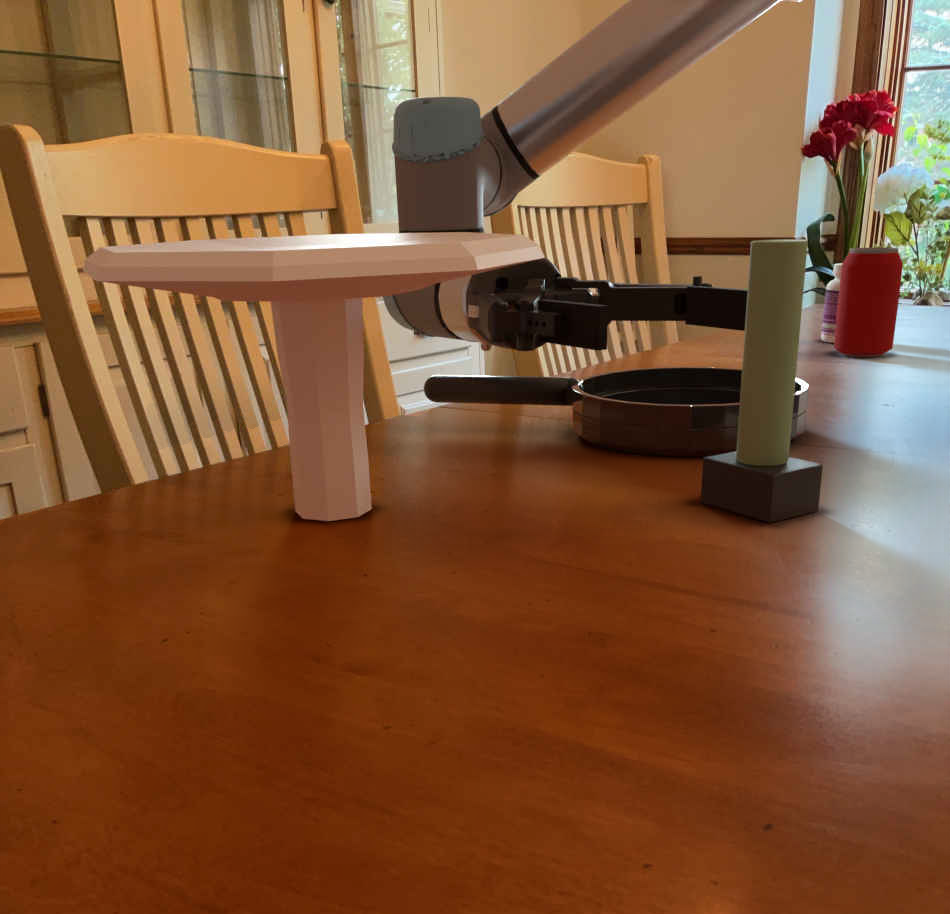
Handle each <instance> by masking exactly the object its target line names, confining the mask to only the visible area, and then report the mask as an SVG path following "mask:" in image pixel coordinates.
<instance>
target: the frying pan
mask: <svg viewBox="0 0 950 914" xmlns="http://www.w3.org/2000/svg"><path fill="white" fill-rule="evenodd" d="M741 378H742V368H737V367H735V368H734V367H733V368H732V367H717V366H716V367H715V366H661V367H659V366H658V367H643V368H632V369H631V368H629V369H622V370H621V369H620V370H614V371H606V372H601V373H596V374H591V375H588V376H585V377H582V378H579V379H577V380H578V381H580V382H579V383H575V384H572V385H571V406H570V426H571V429H572V431H573V432H574V433H576V434H578V435H579V436H581V438H582V439H584V440H585V441H586V442H587V443H590V444H593V445H595V446H598V447H602V448H606V449H609V450H614V451H620V452H625V453H632V454H641V455H651V456H665V457H709V456H714V455H720V454H725V453H730V452H735V451H736V450H737V436H738V421H739V407H740V392H741ZM581 384H582V386H583V391H581V390H580V385H581ZM808 397H809V383H807V382H806V381H804V380H802V379H800V378H797V377H796V380H795V391H794V403H793V414H792V425H791V436H790V442H791V441H793V440H794V439H796V438H797V437H799V436H801V435H802V434H804V433H805V430H806V419H807V408H808Z"/></svg>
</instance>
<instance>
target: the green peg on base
mask: <svg viewBox="0 0 950 914" xmlns="http://www.w3.org/2000/svg"><path fill="white" fill-rule="evenodd" d="M808 244H809V242H808V240H807V239H794V238H793V239H759V240H752V241H751V242H750V248H749V249H750V250H749V264H748V278H747V290H748V291H747V306H746V320H745V331H744V336H743V349H742V350H743V351H742V364H741V365H742V366H741V369H742V378H741V392H740V407H739V421H738V436H737V450H736V451H735V452H730V453H725V454H720V455H714V456H703V457H702V468H701V469H702V472H701V488H700V489H701V490H700V503H701V504H705V505H707V506H708V505H709V506H712V507H715V508H718V509H722V510H725V511H729V512H731V513H735V514H738V515H741V516H745V517H748V518H751V519H755V520H759V521H762V522H764V523H769V524H771V523H775V522H779V521H783V520H787V519H792V518H795V517H799V516H802V515H803V516H804V515H807V514H811V513H815V512H818V511H819V506H820V498H821V487H822V478H823V477H822V476H823V467H824V465H823V464H821V463H817V462H813V461H809V460H805V459H800V458H796V457H792V456H790V445H791V441H790V436H791V425H792V414H793V403H794V391H795V380H796V378H797V367H798V357H799V347H800V345H799V344H800V336H801V335H800V334H801V324H802V312H803V301H804V300H803V299H804V288H805V278H806V267H807V257H808V256H807V255H808Z"/></svg>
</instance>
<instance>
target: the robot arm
mask: <svg viewBox="0 0 950 914" xmlns="http://www.w3.org/2000/svg"><path fill="white" fill-rule="evenodd" d="M782 1H784V0H628V1H627V2H626V3H624V4H622V5H621V6H620V7H619V8H618V9H617V10H616V11H614V12H612V13H611V14H610V15H609V16H608V17H606V18H605V19H604V20H602V21H601V22H600V23H598V24H597V25H595V27H593V28H592V29H591V30H590V31H588V32H586V34H584V35H583V36H582V37H581V38H580V39H578V40H577V41H576V42H575V43H573V44H572V45H571V46H569V47H568V48H566V50H564V51H563V52H562V53H560V54H559V55H558V56H557V57H555V58H554V59H553V60H552V61H550V62H548V64H546V65H545V66H544V67H543V68H541V69H540V70H539V71H538V72H536V73H535V74H533V76H531V77H530V78H528V79H527V80H526V81H525V82H524V83H522V84H521V85H519V86H518V87H517V88H516V89H515V90H514V91H512V92H511V93H510V94H508V95H507V96H506V97H504V98H503V99H502V100H501V101H500V102H498V103H497V104H496V106H493V108H492V109H490V110H488V111H486V113H485V114H483V115H481V108H480V105H479V103H477V101H476V100H474V99H473V98H471V97H464V96H430V97H429V96H427V97H416V98H409V99H408V98H407V99H405V100H402V101H400V102H399V103H398V104H397V105H396V106H395V108H394V111H393V137H392V138H393V142H392V144H391V150H392V154H393V157H394V159H393V160H394V173H395V174H394V176H395V188H396V189H395V190H396V206H397V207H396V208H397V221H398V224H397V225H398V233H439V232H472V233H485V229H484V218H486V217H491V216H494V215H496V214H498V213H499V212H501V211H503V210H504V209H506V208H507V207H508V206H510V205H511V204H512V203H513V202H514V201H515V199H516V198H517V196H518V195H519V193H520V192H522V191H523V190H525V189H526V188H527V187H528V186H530V185H531V184H533V183H534V182H535V181H536V180H537V179H538V178H540V177H541V176H542V175H544V174H545V173H547V172H548V171H550V170H551V169H552V168H553V167H554V166H556V165H557V164H559V163H561V161H563V160H564V159H566V158H568V157H569V156H570V155H571V154H573V153H574V152H575V151H576V150H578V149H579V148H580V147H582V146H583V145H585V144H586V143H587V142H589V141H591V140H592V138H594V137H596V136H597V135H599V134H600V133H601V132H603V131H604V130H605V129H607V128H608V127H609V126H611V125H612V124H613V123H615V122H616V121H618V120H619V119H620V118H622V117H623V116H625V115H626V114H627V113H629V112H630V111H631V110H633V109H634V108H635V107H637V106H638V105H640V104H641V103H642V102H644V101H645V100H646V99H648V98H650V96H652V95H653V94H655V93H656V92H657V91H659V90H660V89H662V88H663V87H665V86H666V85H667V84H668V83H670V82H671V81H673V80H674V79H675V78H676V77H678V76H679V75H680V74H682V73H683V72H685V71H686V70H688V69H689V68H690V67H691V66H693V65H695V64H696V63H697V62H698V61H700V60H701V59H702V58H704V57H705V56H707V55H708V54H709V53H710V52H712V51H714V50H715V49H716V48H717V47H719V46H720V45H721V44H723V43H724V42H726V41H727V40H728V39H730V38H731V37H733V36H734V35H736V34H737V33H739V32H740V31H742V29H743V28H745V27H747V26H748V25H750V23H752V22H753V21H754V20H756V19H757V18H759V17H761V15H763V14H764V13H766V12H767V11H768V10H770V9H771V8H772V7H774V6H776V4H778V3H779V2H782ZM786 1H787V2H792V3H793V2H795V3H800V2H801V1H802V0H786ZM591 289H596V292H594V293H593V292H592V290H591ZM747 291H748V288H746V289H745V288H731V287H720V286H719V287H718V286H717V287H716V286H715V287H714V285H713V284H712V283H708V282H703V275H693V278H692V283H691V284H689V283H627V282H625V283H624V282H611V281H610V280H609V279H582V280H581V279H579V278H578V277H576V276H562V275H561V273H560V271H559V270H558V268H557V267H556V265H555V264H553V262H551V260H550V259H548V258H547V257H545V258H541V259H537V260H533V261H529V262H524V263H520V264H516V265H512V266H507V267H503V268H499V269H495V270H491V271H486V272H482V273H478V274H474V275H469V276H465V277H461V278H457V279H453V280H448V281H444V282H440V283H436V284H432V285H430V286H428V287H425V288H423V289H420V290H415V291H410V292H405V293H400V294H395V295H390V296H383V297H382V300H383V303H384V306H385V309H386V310H387V313H388V314H389V315H390V317H391V318H392V319H393V320H394V321H395V322H396V323H397V324H398V325H399V326H401V327H403V328H405V329H407V330H409V331H413V332H416V333H418V334H420V335H424V336H426V337H429V338H444V339H450V340H451V339H452V340H459V341H465V342H469V343H479V344H480V349H481V351H483V352H489V351H490V350H492V347H493V346H494V347H498V348H502V349H507V350H508V349H509V350H513V351H518V352H532V351H533V352H534V351H535V350H537V349H539V348H540V347H543V346H544V345H545V344H553V345H559V346H565V347H573V348H579V349H584V350H585V349H586V350H592V351H597V352H598V351H605V350H608V326H609V325H610V324H612V322H684V323H685V325H688V326H696V327H707V328H715V329H725V330H733V331H742V332H745V320H746V306H747Z"/></svg>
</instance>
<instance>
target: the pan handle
mask: <svg viewBox="0 0 950 914" xmlns="http://www.w3.org/2000/svg"><path fill="white" fill-rule="evenodd" d="M578 380H579V379H577V378H575V377H572V376H571V377H570V376H529V375H527V376H525V375H524V376H521V375H518V376H517V375H471V374H469V375H468V374H467V375H465V374H463V375H462V374H433V375H431V376H429V377H428V378H427V379H426V380H425V382H424V385H423V392H424V396H425V397H426V398H427V399H428V400H429V401H430V402H433V403H442V404H443V403H444V404H483V405H484V404H485V405H523V406H528V405H529V406H559V407H560V406H562V407H563V406H564V407H571V385H572V384H575V383H579V382H580V381H578ZM580 390H581V391H583V386H582V384H581V385H580Z"/></svg>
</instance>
